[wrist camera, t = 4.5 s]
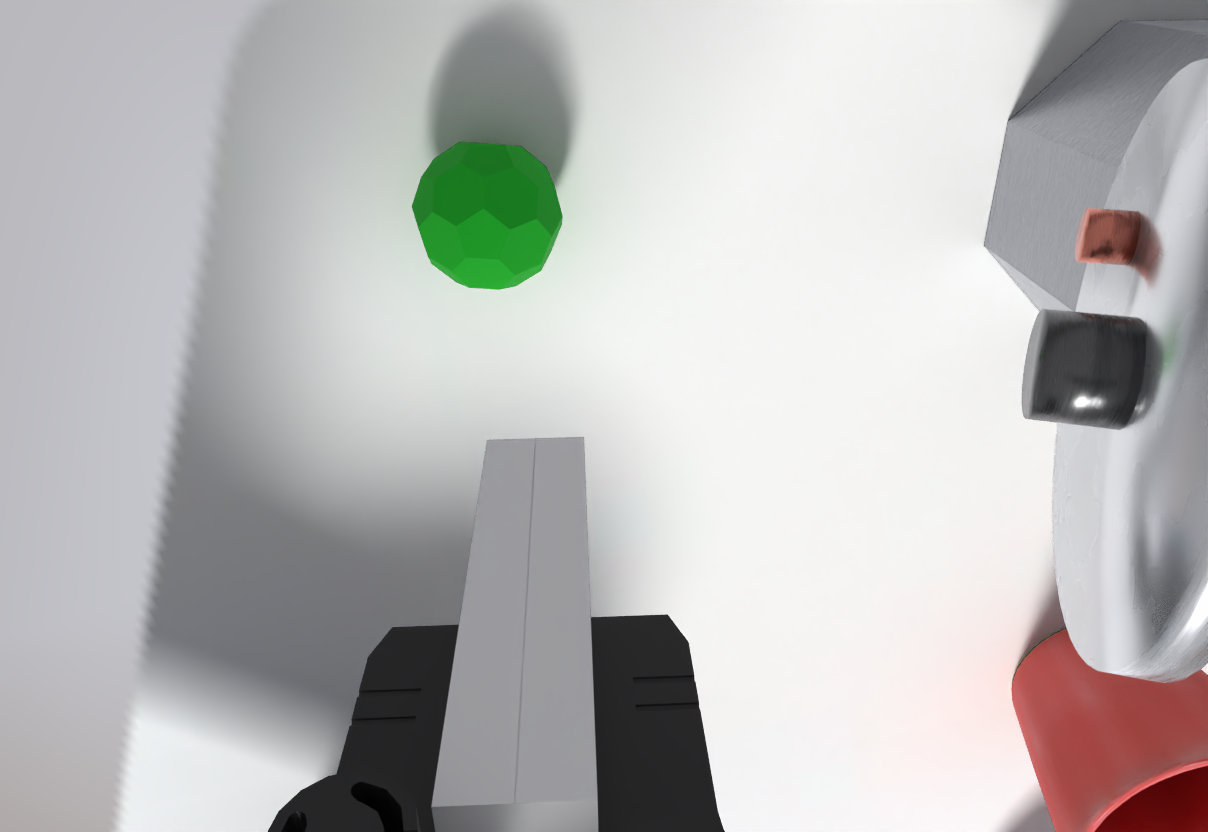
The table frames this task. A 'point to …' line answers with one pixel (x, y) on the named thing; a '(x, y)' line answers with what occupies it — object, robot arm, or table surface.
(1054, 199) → the pot
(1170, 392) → the lid
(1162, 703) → the flower pot
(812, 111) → the table surface
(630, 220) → the table surface
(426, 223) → the polyhedron
